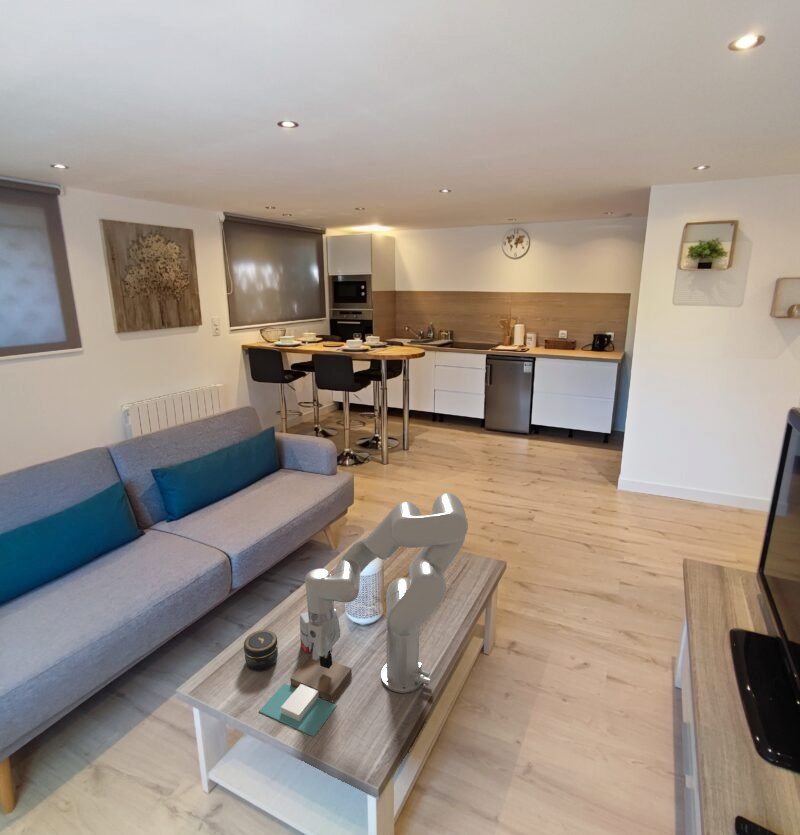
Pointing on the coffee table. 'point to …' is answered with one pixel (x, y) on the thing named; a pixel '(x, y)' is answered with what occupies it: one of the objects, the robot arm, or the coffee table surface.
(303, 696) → the white rubber eraser
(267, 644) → the jar
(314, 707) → the mat
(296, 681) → the brown flat block
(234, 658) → the coffee table surface
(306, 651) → the ink box
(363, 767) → the coffee table surface
